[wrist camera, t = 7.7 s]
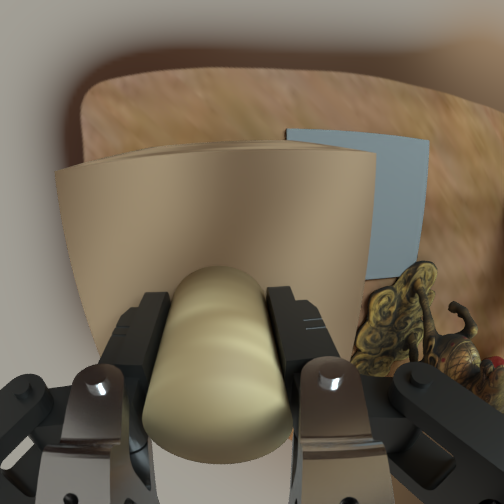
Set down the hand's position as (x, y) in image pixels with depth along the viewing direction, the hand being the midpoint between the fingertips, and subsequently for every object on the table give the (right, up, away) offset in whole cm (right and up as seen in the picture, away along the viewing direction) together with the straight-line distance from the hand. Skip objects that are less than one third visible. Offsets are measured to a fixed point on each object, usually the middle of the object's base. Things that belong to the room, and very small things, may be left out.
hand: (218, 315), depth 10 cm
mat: (+12, +6, +20) cm, 25 cm away
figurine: (+19, -10, +27) cm, 35 cm away
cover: (-1, +5, +13) cm, 14 cm away
